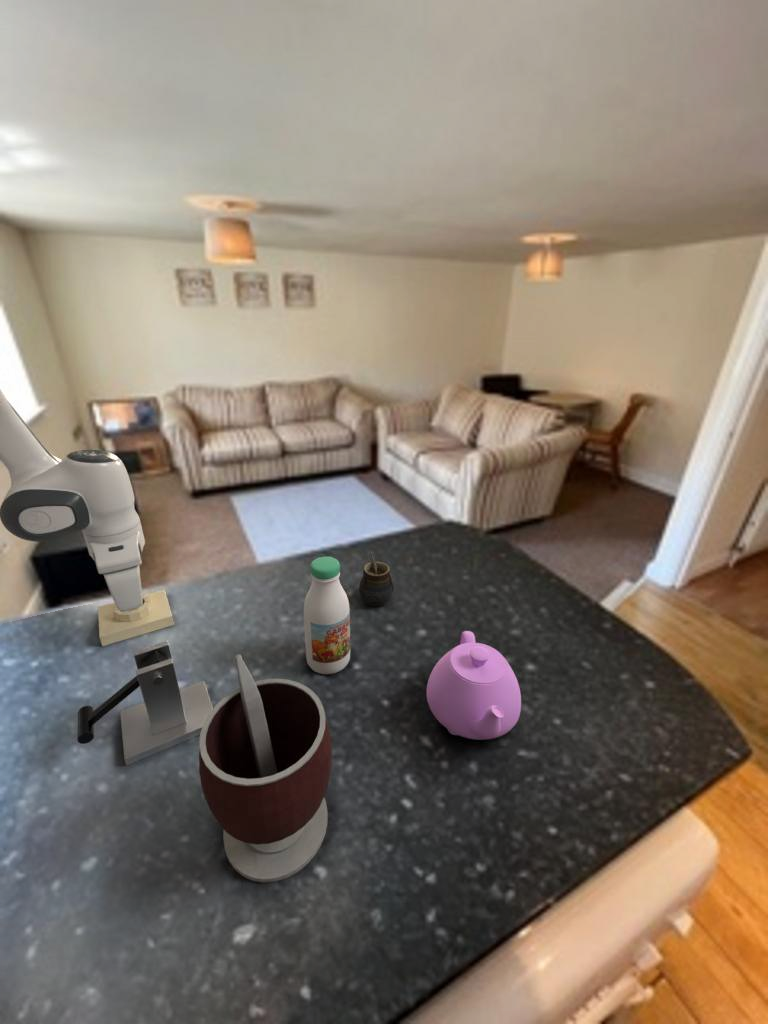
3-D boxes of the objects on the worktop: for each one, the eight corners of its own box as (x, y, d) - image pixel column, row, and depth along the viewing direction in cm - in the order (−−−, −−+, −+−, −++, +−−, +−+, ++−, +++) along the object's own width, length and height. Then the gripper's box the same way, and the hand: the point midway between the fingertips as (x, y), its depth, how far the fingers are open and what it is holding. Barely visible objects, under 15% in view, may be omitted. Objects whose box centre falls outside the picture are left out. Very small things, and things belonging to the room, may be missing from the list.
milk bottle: (298, 667, 77) (290, 569, 69) (320, 639, 84) (315, 546, 75) (337, 681, 75) (335, 581, 66) (357, 651, 81) (357, 556, 73)
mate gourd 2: (368, 614, 91) (369, 573, 86) (352, 595, 96) (351, 555, 92) (399, 604, 94) (401, 563, 90) (381, 585, 100) (382, 547, 96)
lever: (87, 746, 59) (72, 740, 57) (87, 718, 62) (72, 711, 61) (172, 675, 61) (160, 667, 60) (167, 652, 65) (155, 644, 63)
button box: (102, 646, 81) (96, 629, 79) (100, 615, 88) (95, 599, 86) (174, 625, 86) (170, 608, 85) (166, 597, 94) (162, 581, 92)
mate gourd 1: (354, 842, 53) (354, 724, 44) (236, 922, 46) (208, 799, 37) (301, 742, 64) (293, 633, 56) (201, 793, 57) (173, 677, 49)
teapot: (539, 779, 60) (556, 715, 55) (434, 780, 60) (442, 716, 54) (499, 668, 78) (510, 612, 73) (419, 668, 78) (424, 612, 72)
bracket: (126, 765, 60) (103, 697, 55) (121, 717, 67) (101, 652, 62) (218, 727, 66) (205, 661, 61) (205, 686, 73) (192, 623, 68)
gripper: (94, 520, 86) (111, 580, 92) (96, 571, 70) (117, 639, 76) (130, 513, 89) (145, 571, 95) (141, 561, 73) (157, 627, 79)
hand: (132, 602), depth 85 cm, fingers closed, pressing on button
